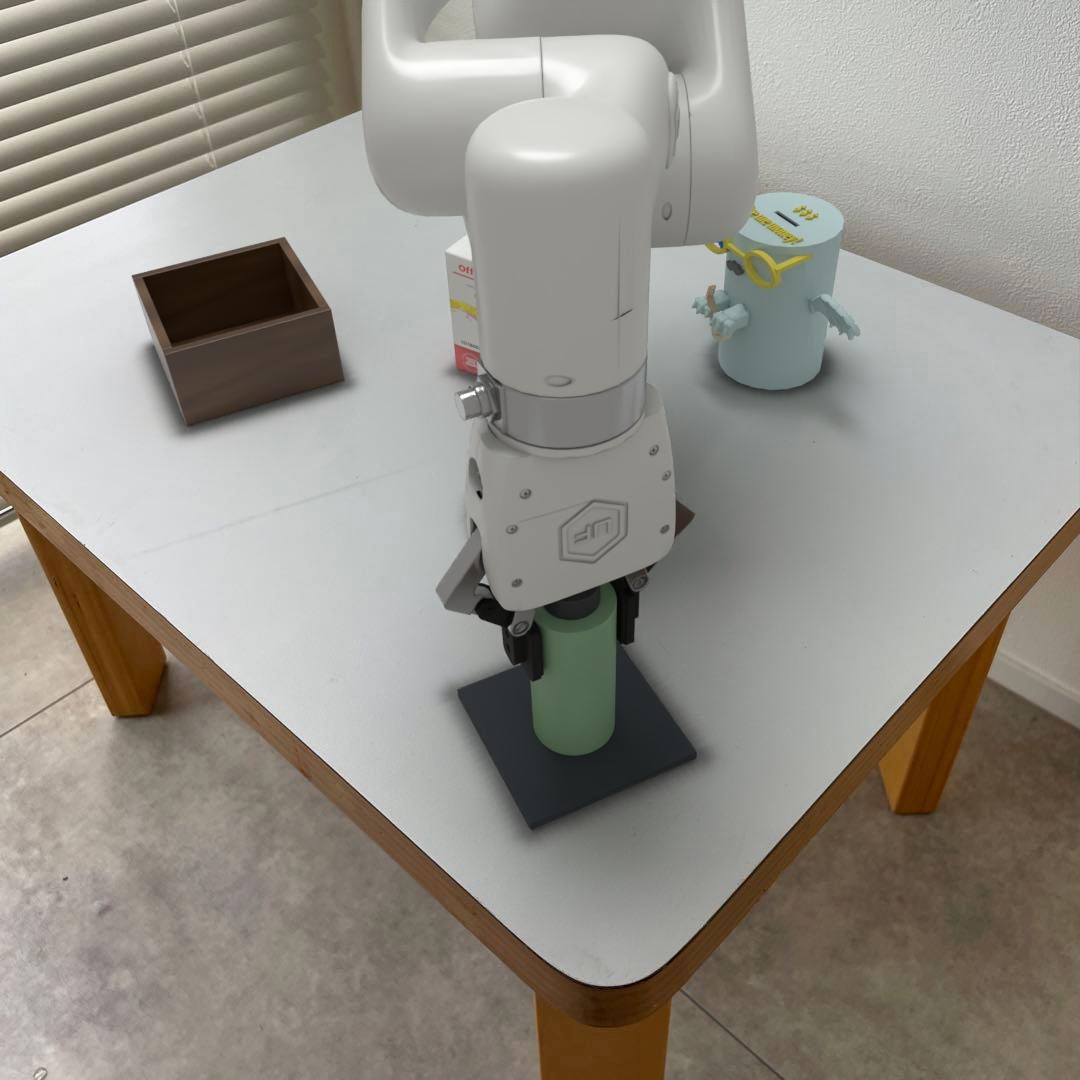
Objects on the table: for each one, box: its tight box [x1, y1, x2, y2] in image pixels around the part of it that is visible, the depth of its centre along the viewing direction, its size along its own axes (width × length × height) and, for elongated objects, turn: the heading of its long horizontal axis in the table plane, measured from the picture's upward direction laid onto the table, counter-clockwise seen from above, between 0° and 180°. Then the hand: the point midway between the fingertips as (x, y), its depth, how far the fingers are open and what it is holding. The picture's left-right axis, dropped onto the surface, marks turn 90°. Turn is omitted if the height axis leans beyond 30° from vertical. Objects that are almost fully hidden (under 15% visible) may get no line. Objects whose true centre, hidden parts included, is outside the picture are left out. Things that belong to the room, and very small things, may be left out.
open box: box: [131, 236, 346, 428], centre depth 97 cm, size 14×14×7 cm
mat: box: [456, 638, 698, 830], centre depth 70 cm, size 11×11×1 cm
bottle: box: [530, 582, 617, 756], centre depth 65 cm, size 5×5×12 cm
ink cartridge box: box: [444, 233, 481, 377], centre depth 92 cm, size 9×5×15 cm, turn 58°
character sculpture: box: [691, 191, 861, 391], centre depth 92 cm, size 20×12×13 cm, turn 29°
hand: (571, 643), depth 64 cm, fingers closed on bottle, 5 cm apart
